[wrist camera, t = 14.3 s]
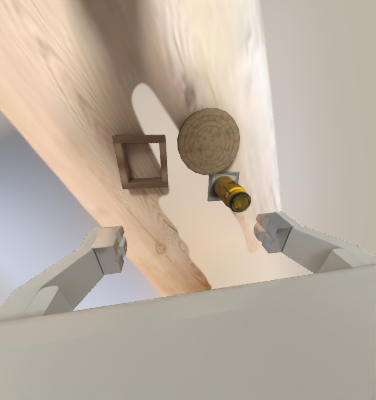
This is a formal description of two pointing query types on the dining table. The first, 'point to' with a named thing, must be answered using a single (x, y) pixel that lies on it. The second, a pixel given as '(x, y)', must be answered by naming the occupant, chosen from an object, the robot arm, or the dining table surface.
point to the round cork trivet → (208, 141)
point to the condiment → (229, 192)
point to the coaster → (224, 174)
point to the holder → (123, 163)
